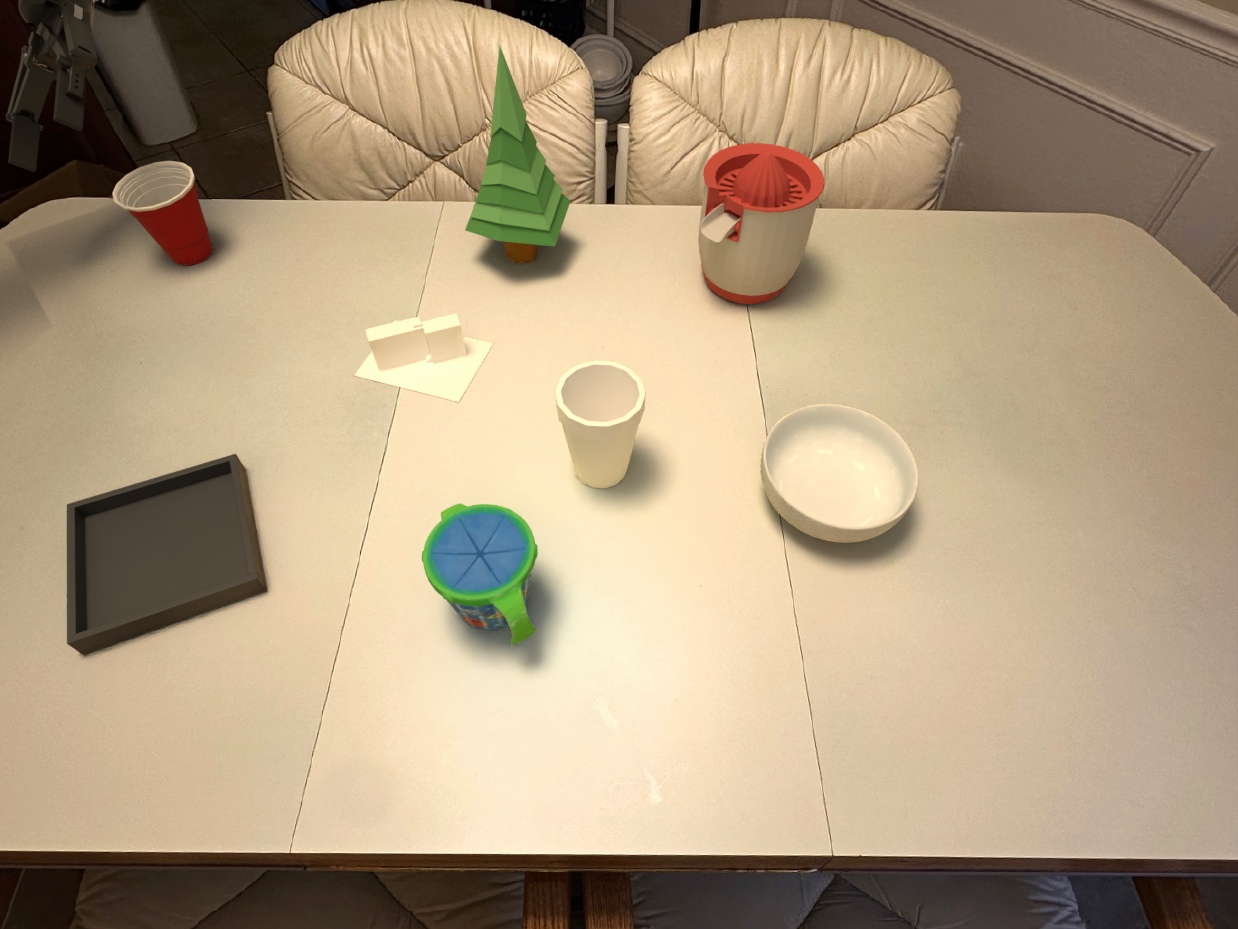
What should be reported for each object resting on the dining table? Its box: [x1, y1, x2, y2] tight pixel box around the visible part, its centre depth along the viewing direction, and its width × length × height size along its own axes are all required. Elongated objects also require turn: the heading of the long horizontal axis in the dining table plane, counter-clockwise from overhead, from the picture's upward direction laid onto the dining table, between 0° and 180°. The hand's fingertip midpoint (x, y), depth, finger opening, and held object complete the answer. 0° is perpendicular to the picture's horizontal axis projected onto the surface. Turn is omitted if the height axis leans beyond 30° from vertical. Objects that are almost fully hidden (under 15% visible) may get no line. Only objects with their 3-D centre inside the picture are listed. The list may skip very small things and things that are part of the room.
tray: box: [66, 453, 268, 656], centre depth 79 cm, size 18×18×3 cm
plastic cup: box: [112, 160, 213, 266], centre depth 106 cm, size 11×11×12 cm
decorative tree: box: [464, 45, 571, 265], centre depth 100 cm, size 14×16×30 cm
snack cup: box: [421, 502, 539, 646], centre depth 73 cm, size 16×10×10 cm
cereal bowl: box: [759, 403, 920, 544], centre depth 83 cm, size 17×17×7 cm
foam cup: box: [554, 360, 646, 489], centre depth 83 cm, size 10×9×13 cm
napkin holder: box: [354, 312, 494, 403], centre depth 96 cm, size 15×11×6 cm
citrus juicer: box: [697, 142, 825, 305], centre depth 101 cm, size 16×17×20 cm
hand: (44, 146), depth 91 cm, fingers open, 13 cm apart
